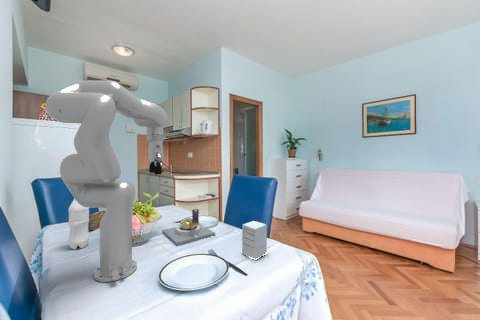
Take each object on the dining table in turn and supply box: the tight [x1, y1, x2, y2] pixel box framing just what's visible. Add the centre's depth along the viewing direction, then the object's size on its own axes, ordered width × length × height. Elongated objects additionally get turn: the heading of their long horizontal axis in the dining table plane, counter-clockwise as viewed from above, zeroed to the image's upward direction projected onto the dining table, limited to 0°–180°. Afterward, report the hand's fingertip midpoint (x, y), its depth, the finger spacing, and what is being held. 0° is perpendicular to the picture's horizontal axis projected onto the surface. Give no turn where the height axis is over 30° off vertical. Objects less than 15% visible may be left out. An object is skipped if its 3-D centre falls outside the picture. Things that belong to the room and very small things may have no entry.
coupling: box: [181, 208, 200, 231], centre depth 103 cm, size 14×7×12 cm, turn 38°
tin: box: [88, 210, 107, 231], centre depth 114 cm, size 15×3×8 cm, turn 179°
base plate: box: [161, 223, 216, 247], centre depth 105 cm, size 20×20×4 cm
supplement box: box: [241, 220, 268, 259], centre depth 83 cm, size 7×7×13 cm
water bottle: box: [67, 197, 90, 250], centre depth 89 cm, size 7×7×25 cm
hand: (155, 173), depth 102 cm, fingers open, 9 cm apart
